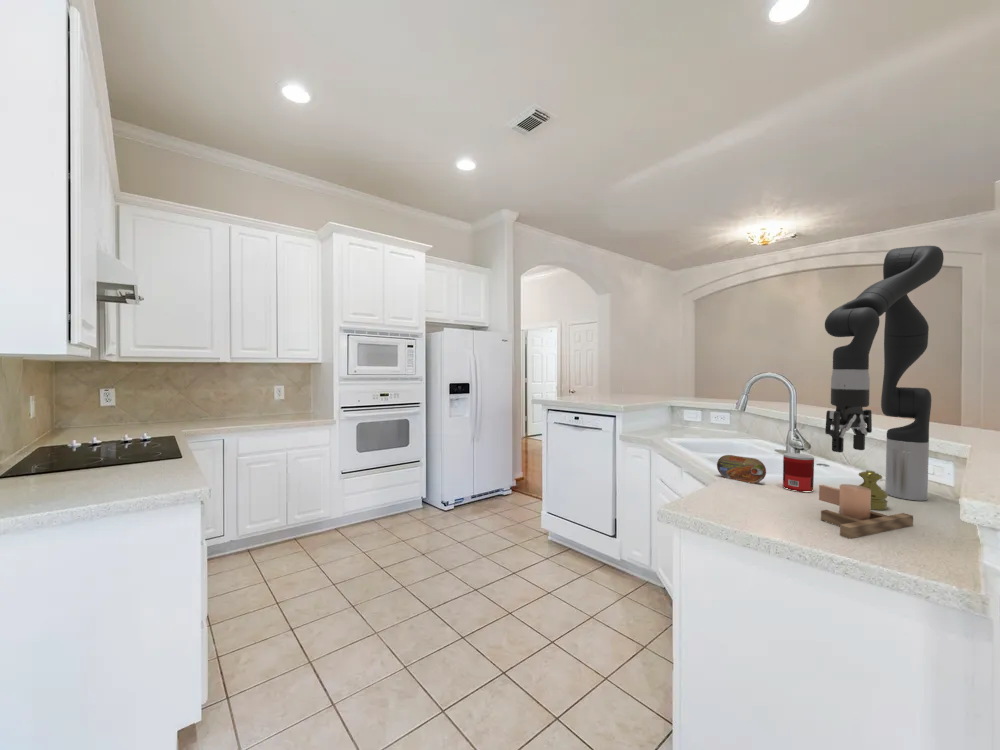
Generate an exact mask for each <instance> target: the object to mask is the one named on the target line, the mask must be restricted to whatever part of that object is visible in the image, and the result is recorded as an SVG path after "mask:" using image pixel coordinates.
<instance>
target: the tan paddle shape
mask: <svg viewBox="0 0 1000 750" xmlns="http://www.w3.org/2000/svg"><path fill="white" fill-rule="evenodd" d="M818 486H819V487H818V489H819V490H818V501H822V502H824V503H827V504H830V505H831V504H832V505H836V506H838V513H839V514H842V515H845V516H849V517H852V518H855V519H859V520H862V521H863V520H868V519H870V511H872V509H871V489H869V488H866V487H862V486H859V485H857V484H839V488H836V487H833V486H829V485H825V484H820V485H818Z"/></svg>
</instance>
